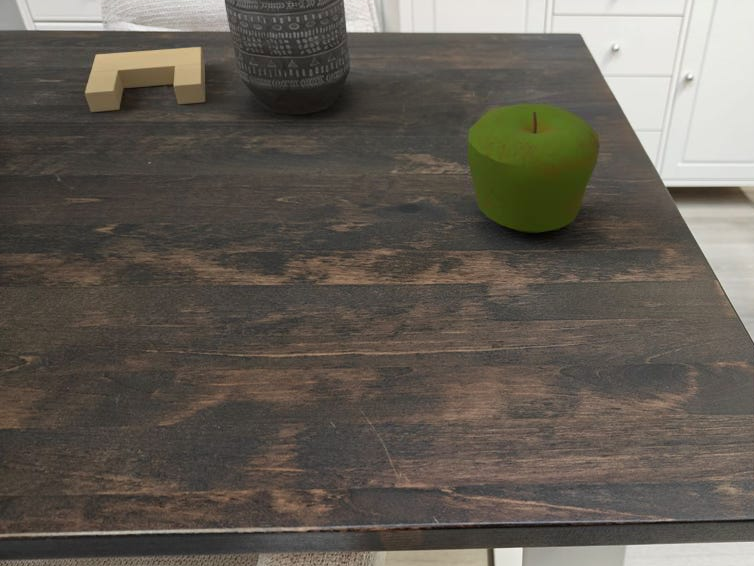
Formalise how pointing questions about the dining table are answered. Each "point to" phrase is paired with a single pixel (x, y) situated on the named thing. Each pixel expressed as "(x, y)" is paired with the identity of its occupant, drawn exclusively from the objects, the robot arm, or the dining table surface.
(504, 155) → the apple
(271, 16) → the planter
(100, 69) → the u-shaped wooden block
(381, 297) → the dining table surface
